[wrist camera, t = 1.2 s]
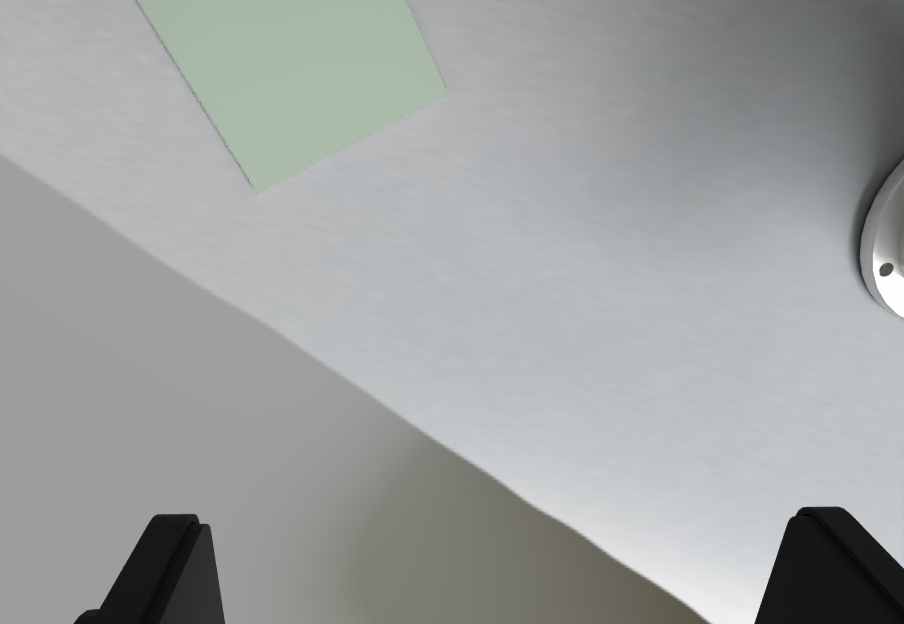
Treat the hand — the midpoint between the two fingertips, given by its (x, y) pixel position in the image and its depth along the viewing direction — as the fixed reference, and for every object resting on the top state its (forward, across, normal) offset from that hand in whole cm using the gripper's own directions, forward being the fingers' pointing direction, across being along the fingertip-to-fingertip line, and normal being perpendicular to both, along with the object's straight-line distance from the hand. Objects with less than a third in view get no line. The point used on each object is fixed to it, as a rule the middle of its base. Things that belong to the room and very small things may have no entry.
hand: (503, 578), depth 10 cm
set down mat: (+24, +7, -8) cm, 27 cm away
